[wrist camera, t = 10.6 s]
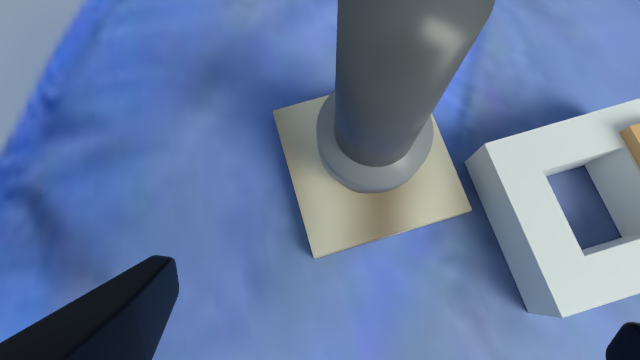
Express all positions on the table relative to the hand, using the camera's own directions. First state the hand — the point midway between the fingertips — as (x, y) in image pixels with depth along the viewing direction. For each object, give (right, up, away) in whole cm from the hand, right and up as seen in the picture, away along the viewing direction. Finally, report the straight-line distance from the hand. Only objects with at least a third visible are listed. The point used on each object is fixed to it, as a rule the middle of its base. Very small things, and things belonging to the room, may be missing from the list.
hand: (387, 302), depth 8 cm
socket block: (+13, +1, +13) cm, 18 cm away
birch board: (+1, +3, +15) cm, 15 cm away
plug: (+1, +3, +14) cm, 14 cm away
